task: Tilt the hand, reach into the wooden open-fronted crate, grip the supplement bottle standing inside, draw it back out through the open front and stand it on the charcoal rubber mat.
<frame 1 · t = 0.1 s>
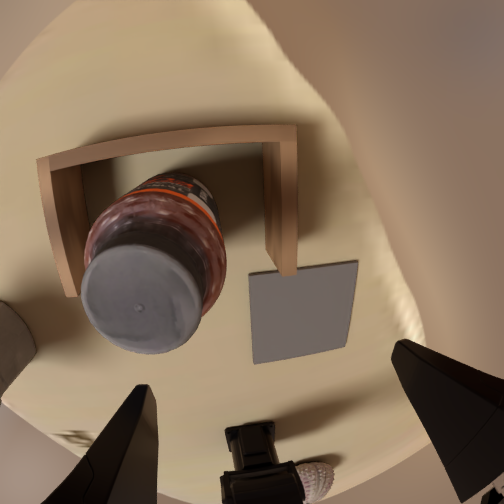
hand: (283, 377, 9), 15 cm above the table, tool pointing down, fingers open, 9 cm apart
supplement bottle: (173, 214, 21), on the table
crate: (171, 199, 20), on the table
sea urchin shell: (295, 471, 41), on the table
mat: (303, 315, 26), on the table
coffeepot: (2, 333, 21), on the table
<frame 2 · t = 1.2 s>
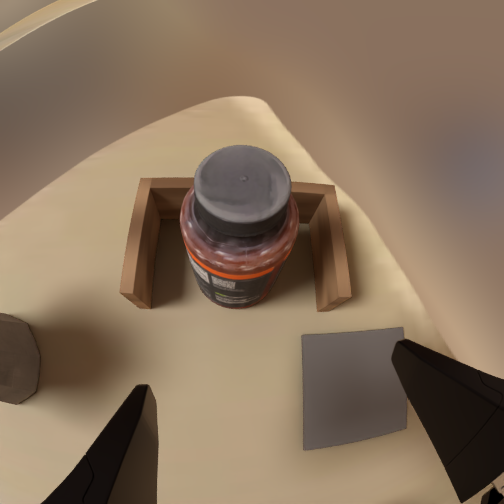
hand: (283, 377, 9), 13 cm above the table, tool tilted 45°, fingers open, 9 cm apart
supplement bottle: (234, 272, 24), on the table
crate: (234, 258, 25), on the table
mat: (358, 387, 21), on the table
coffeepot: (5, 359, 18), on the table
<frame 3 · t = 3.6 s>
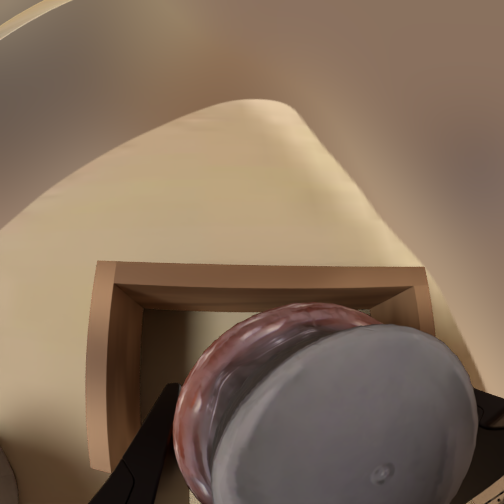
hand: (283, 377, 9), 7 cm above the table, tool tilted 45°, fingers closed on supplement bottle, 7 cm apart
supplement bottle: (263, 397, 14), on the table, touching gripper
crate: (263, 376, 15), on the table
when the fingers open (8 cm above the table, at t = 8.1 s): supplement bottle stays where it is, resting on mat.
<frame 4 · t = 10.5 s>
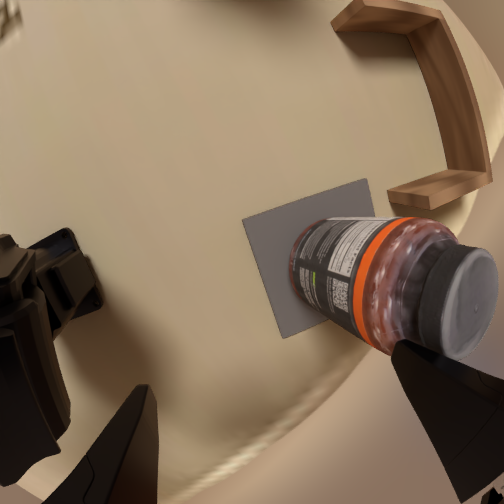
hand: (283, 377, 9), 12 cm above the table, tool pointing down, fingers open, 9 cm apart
supplement bottle: (326, 262, 21), point 1 cm above the table, touching gripper, mat
crate: (405, 101, 19), on the table
mat: (324, 259, 21), on the table
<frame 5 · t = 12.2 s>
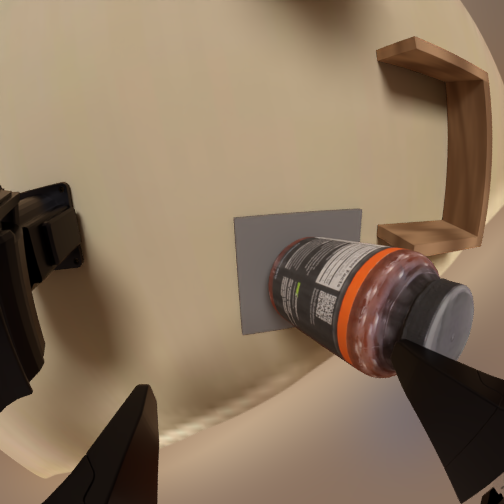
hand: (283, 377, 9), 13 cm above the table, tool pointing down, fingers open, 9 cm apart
supplement bottle: (304, 278, 21), point 1 cm above the table, touching gripper, mat
crate: (422, 146, 20), on the table
mat: (300, 273, 23), on the table
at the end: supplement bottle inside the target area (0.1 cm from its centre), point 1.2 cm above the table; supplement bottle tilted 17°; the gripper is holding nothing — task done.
